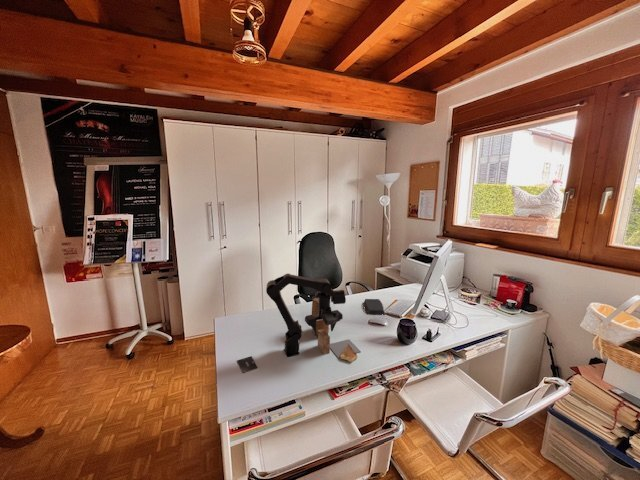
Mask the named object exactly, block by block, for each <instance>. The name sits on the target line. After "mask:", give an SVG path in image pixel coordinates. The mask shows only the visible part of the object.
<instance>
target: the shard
mask: <svg viewBox="0 0 640 480" xmlns="http://www.w3.org/2000/svg"><path fill="white" fill-rule="evenodd" d="M340 357H341V358H340V359H341V360H345V361H347V362H349V363H352V362H353V361H355V360H357V359H358V355H357V353H355V352H354V351H353V349H352V348H351V347H350V346H349V344H348V345H347V346H346V348H345V349H344V350H343V352H342V354H341V356H340Z"/></svg>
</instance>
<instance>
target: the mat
mask: <svg viewBox="0 0 640 480" xmlns="http://www.w3.org/2000/svg"><path fill="white" fill-rule="evenodd" d="M348 344H349V346H350V347H351V348H352V349H353V351H354V352H355V353H356V354H358V353H361V350H360V349H359V347H358V346H356V345H355V344H354V343H353V342H352V341H351V339H349V338H348V339H343V340H340V341H337V342H336V341H335V342H331V343H330V351H332V352H333V354H334V355H335V356H336V358H338V359H341V357H340V356H341V354H342V352H343V350H344V349H345V348H346V346H347V345H348Z"/></svg>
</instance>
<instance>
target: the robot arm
mask: <svg viewBox="0 0 640 480" xmlns="http://www.w3.org/2000/svg"><path fill="white" fill-rule="evenodd" d="M288 285H293V286H300V287H305V288H309V289H313V290H315V291H317V292H314V295H315V298H319V305H318V312H317V314H318V316H317V317H314V316H313V315H312V314H310V315H306V316H305V317H304V322H305V323H306V324H307V325H308V326H309V327H311V330H312V329H313V330H312V332H313V335H315V336H317V335H316V326H317V325H316V321H319V320H323V321H324V322H325V325H329V326H330V332H333V331H334V329H335V326H336V325H337V323H338V322H341V320H343V315H344V314H343V313H342V312H340V310H338V309H335V310H332V307H331V303H333V305H342V304H343V305H345V304H346V302H347V299H346V294H345V293H346V292H345V290H344V289H341V290H334V288H332V285H331V283H330V281H329V280H328V278H320V277H318V278H312V277H306V276H300V275H295V274H291V273H285V274H283V275H282V276H281V275H280V276H278V277H276V278H275V279H274V280H273V279H272V280H269V281H267V283H266V290H265V292H266V294H267V296H268V297H269V298H270V299H271V300H272V301H273V303H275V305H276V307H277V309H278V311H279V313H280V315H281V317H282V319H283V321H284V323H285V324H286V327H287V331H286V332H285V333H284V334H285V340H284V349H283V352H284V354H285V355H286V357H287V358H290V357H293V356H297V355H300V342H299V341H300V340H301V339H302V336H303V335H302V333H303V331H302V330H303V329H302V326H301V325H300V323H299V320H298V319H297V320H295V319H294V318H293V316H292V314H291V312H290V310H289V308H288V307H287V304H286V302H285V300H284V299H283V296H282V292H281V291H282V290H284V289H285V288H286V286H288Z"/></svg>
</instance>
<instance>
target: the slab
mask: <svg viewBox="0 0 640 480" xmlns="http://www.w3.org/2000/svg"><path fill="white" fill-rule="evenodd" d="M330 342H331V337H330V335H329V333H328V334H327V333H326V332H325V331H324V329H321V330H318V335H317V346H318V348H319V350H320V351H321V352H322V353H323V355H328V354H330V352H331V349H330V344H331V343H330Z"/></svg>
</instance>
